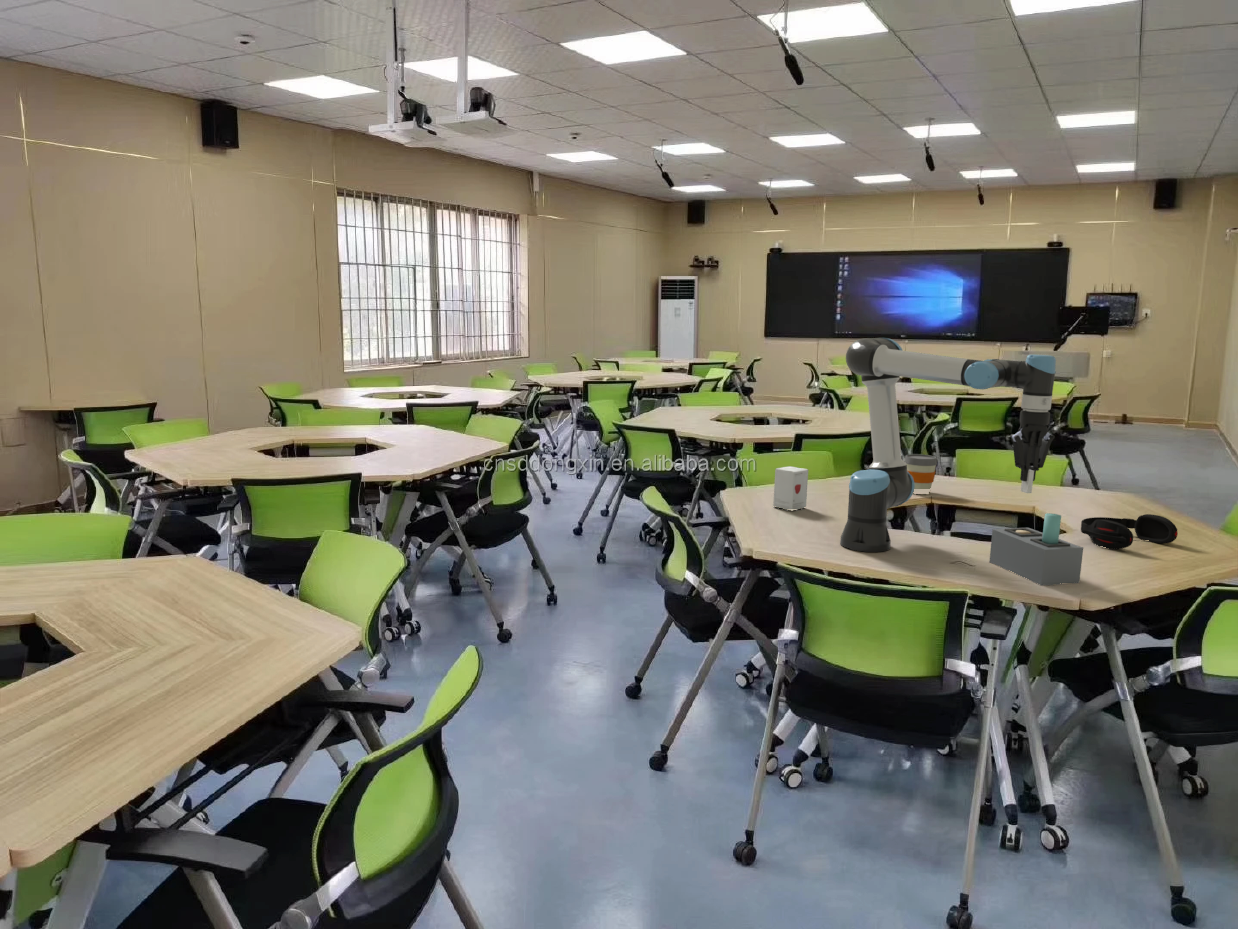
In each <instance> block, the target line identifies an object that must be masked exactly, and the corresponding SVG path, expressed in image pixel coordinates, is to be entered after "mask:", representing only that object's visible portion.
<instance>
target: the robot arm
mask: <svg viewBox="0 0 1238 929" xmlns="http://www.w3.org/2000/svg"><path fill="white" fill-rule="evenodd" d="M1056 361H1057V359H1056V357H1055V356H1054V355H1050V354H1028V355H1027V356H1026V359H1025V360H1021V361H1020V360H1011V359H1010V360H1009V359H999V358H992V359H989V358H987V359H985V360H982V359H981V360H979V359H972V358H971V359H970V358H965V357H964V358H963V357H957V356H956V357H955V356H946V355H938V354H930V353H923V352H915V351H909V350H903V348H902V347H901V345H900V344H899V343H898V342H897V341H895V340H894V339H891V338H888V337H875V338H874V337H873V338H872V337H871V338H870V337H867V338H859V339H857V340H855V341H854V342H852V343H851V344H850V346H848V348H847V350H846V354H845V362H846V366H847V367H848V369H849V370H850V371H851V372H852V373H853V374H855V375H858V376H860V377H861V383H862V384H863V385H864V386H865V387H866V388H867V389H866V390H867V402H868V413H869V424H870V434H871V435H870V436H871V448H872V449H871V450H872V458H873V460H872V463H870V465H869V466H868V469H866V470H864V469H861V470H857V471H855V472H854V473H852V474H851V476H850V481H849V484H848V508H847V519H846V520H847V521H846V523H845V525H844V528H843V531H842V533H841V536H840V540H839V541H840V545H841V546H842V547H843V546H844V548H845V547H847V548H846V549H848V548H850V549H849V550H852V551H856V550H857V551H858V552H866V553H881V552H882V553H883V552H887V551H889V550H890V549H891V542H892V541H891V537H890V533H889V529H888V526H887V515H888V509H891V508H893V507H898V506H901V505H903V504H904V503H906V502H908V501H909V500H910V499H911V497H912V496H913V495H914V494H913V492H914V487H915V484H914V480H913V477H912V476H911V475H910V474H909V472H908V471H907V464H906V463H905V462H904V461H905V460H903V459H902V453H901V452H902V450H901V438H900V427H899V416H898V415H899V414H898V402H897V393H896V392H897V391H896V384H897V383H898V381H899V380H900V377H902V378H909V379H917V380H923V381H932V382H939V383H944V384H945V383H946V384H952V385H959V386H966V387H970V388H972V389H973V390H974V389H975V390H982V391H983V390H988V389H993V388H1000V387H1001V388H1002V387H1006V388H1007V387H1009V388H1022V394H1021V395H1022V396H1021V402H1020V403H1021V404H1020V408H1021V409H1022V410H1021V411H1020V413H1019V424H1020V426H1019V428H1018V431H1017V432H1016V433H1015V434H1013V433H1011V434H1010V435H1009V436H1010V439H1011V441H1012V448H1013V450H1012V451H1013V458H1014V459H1013V460H1014V466H1015V467H1016V468H1019V469H1020V477H1019V480H1020V481H1021V486H1020V492H1021V493H1024V494H1032V493H1033V492H1032V491H1033V485H1034V484H1033V483H1034V482H1035V480H1036V475H1037V474H1036V472H1038V471H1040V469H1042V468H1044V465H1045V462H1046V459H1047V457H1048V452H1049V450H1050V447H1051V444H1052V442H1053V440H1055V438H1056V437H1055V436H1056V435H1054V434H1051V433H1050V432H1048V431H1049V429H1048V425H1049V424H1050V418H1051V412H1050V410H1051V408H1052V400H1053V391H1054V383H1055V376H1056V372H1057V371H1056V363H1057V362H1056Z"/></svg>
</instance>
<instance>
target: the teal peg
mask: <svg viewBox="0 0 1238 929" xmlns="http://www.w3.org/2000/svg"><path fill="white" fill-rule="evenodd" d="M1043 520H1044V521H1043V529H1042V533H1043V537H1042V542H1044V543H1046V544H1058V540H1059V539H1060V529H1061V522H1062V515H1061V514H1058V513H1047V512H1046V513H1045V514H1044V519H1043Z"/></svg>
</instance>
